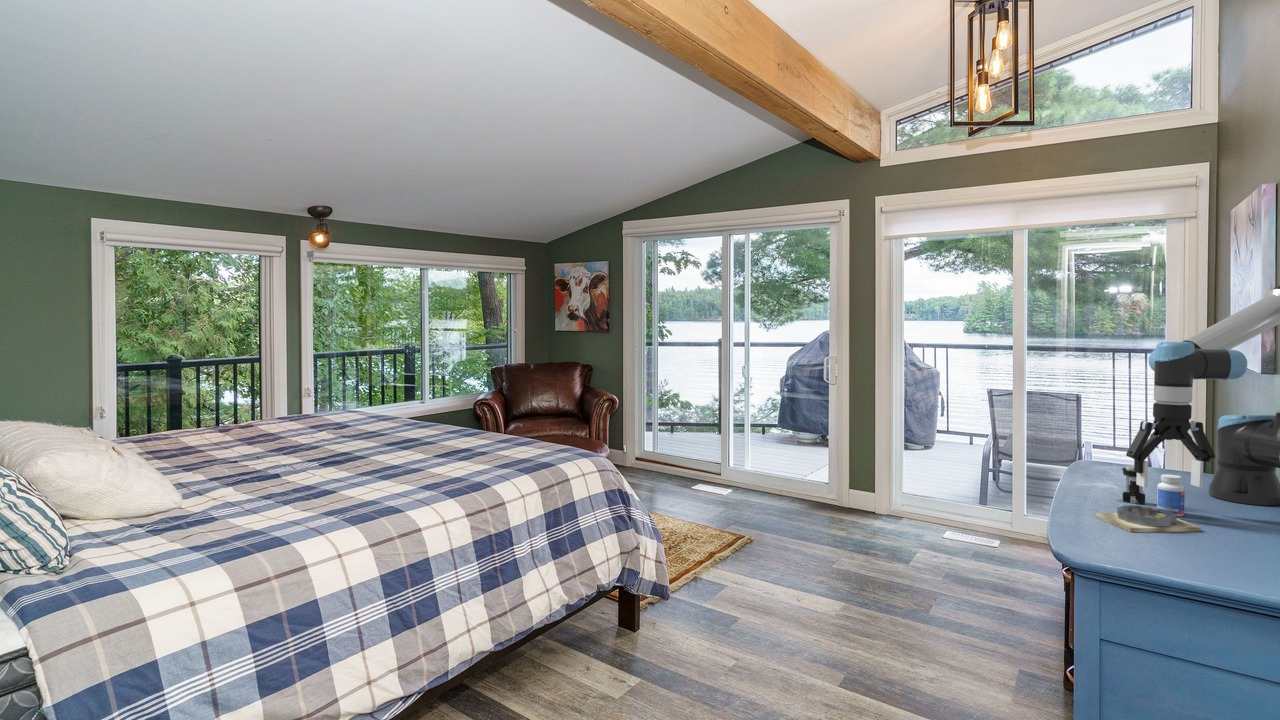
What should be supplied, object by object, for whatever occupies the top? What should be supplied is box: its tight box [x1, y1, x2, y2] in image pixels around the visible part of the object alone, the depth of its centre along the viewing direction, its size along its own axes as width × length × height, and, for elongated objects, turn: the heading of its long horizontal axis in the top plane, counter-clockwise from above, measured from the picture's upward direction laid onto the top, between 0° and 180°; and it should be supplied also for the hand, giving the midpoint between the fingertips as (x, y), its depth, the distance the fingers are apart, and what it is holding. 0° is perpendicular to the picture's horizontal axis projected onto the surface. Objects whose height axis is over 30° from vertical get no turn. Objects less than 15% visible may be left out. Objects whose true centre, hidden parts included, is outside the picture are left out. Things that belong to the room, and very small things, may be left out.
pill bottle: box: [1156, 474, 1186, 517], centre depth 164 cm, size 6×5×10 cm
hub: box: [1116, 504, 1178, 527], centre depth 156 cm, size 11×11×3 cm
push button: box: [1115, 464, 1146, 506], centre depth 175 cm, size 7×5×10 cm
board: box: [1095, 512, 1201, 533], centre depth 156 cm, size 16×12×1 cm
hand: (1169, 486), depth 164 cm, fingers open, 13 cm apart
